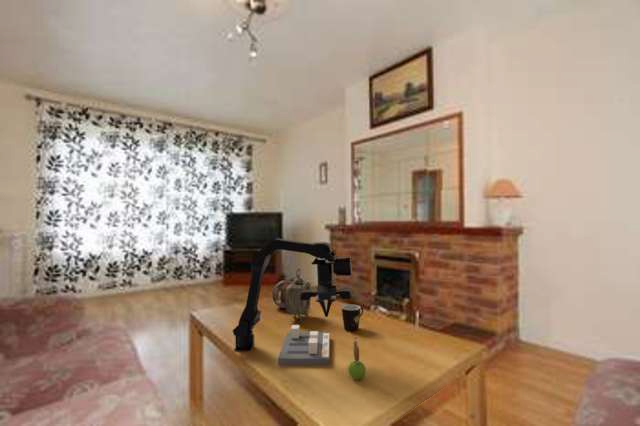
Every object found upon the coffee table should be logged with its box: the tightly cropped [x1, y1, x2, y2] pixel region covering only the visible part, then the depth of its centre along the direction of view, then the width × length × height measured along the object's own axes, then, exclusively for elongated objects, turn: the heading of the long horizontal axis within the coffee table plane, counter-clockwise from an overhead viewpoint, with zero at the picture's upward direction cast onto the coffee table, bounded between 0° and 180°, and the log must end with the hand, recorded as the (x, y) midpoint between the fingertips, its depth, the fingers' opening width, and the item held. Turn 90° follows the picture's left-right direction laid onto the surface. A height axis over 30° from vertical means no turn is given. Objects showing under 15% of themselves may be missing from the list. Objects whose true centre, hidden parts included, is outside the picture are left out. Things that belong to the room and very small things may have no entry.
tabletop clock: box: [285, 268, 311, 323], centre depth 163 cm, size 14×9×25 cm, turn 168°
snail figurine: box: [348, 336, 367, 380], centre depth 105 cm, size 5×6×12 cm
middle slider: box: [309, 330, 319, 346], centre depth 126 cm, size 3×4×4 cm
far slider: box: [290, 324, 301, 338], centre depth 133 cm, size 3×4×4 cm
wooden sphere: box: [271, 280, 294, 309], centre depth 183 cm, size 15×15×15 cm
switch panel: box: [277, 332, 331, 367], centre depth 126 cm, size 18×24×3 cm
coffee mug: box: [341, 304, 364, 333], centre depth 148 cm, size 12×9×10 cm
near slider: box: [308, 338, 317, 354], centre depth 119 cm, size 3×4×4 cm
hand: (326, 316), depth 124 cm, fingers closed
